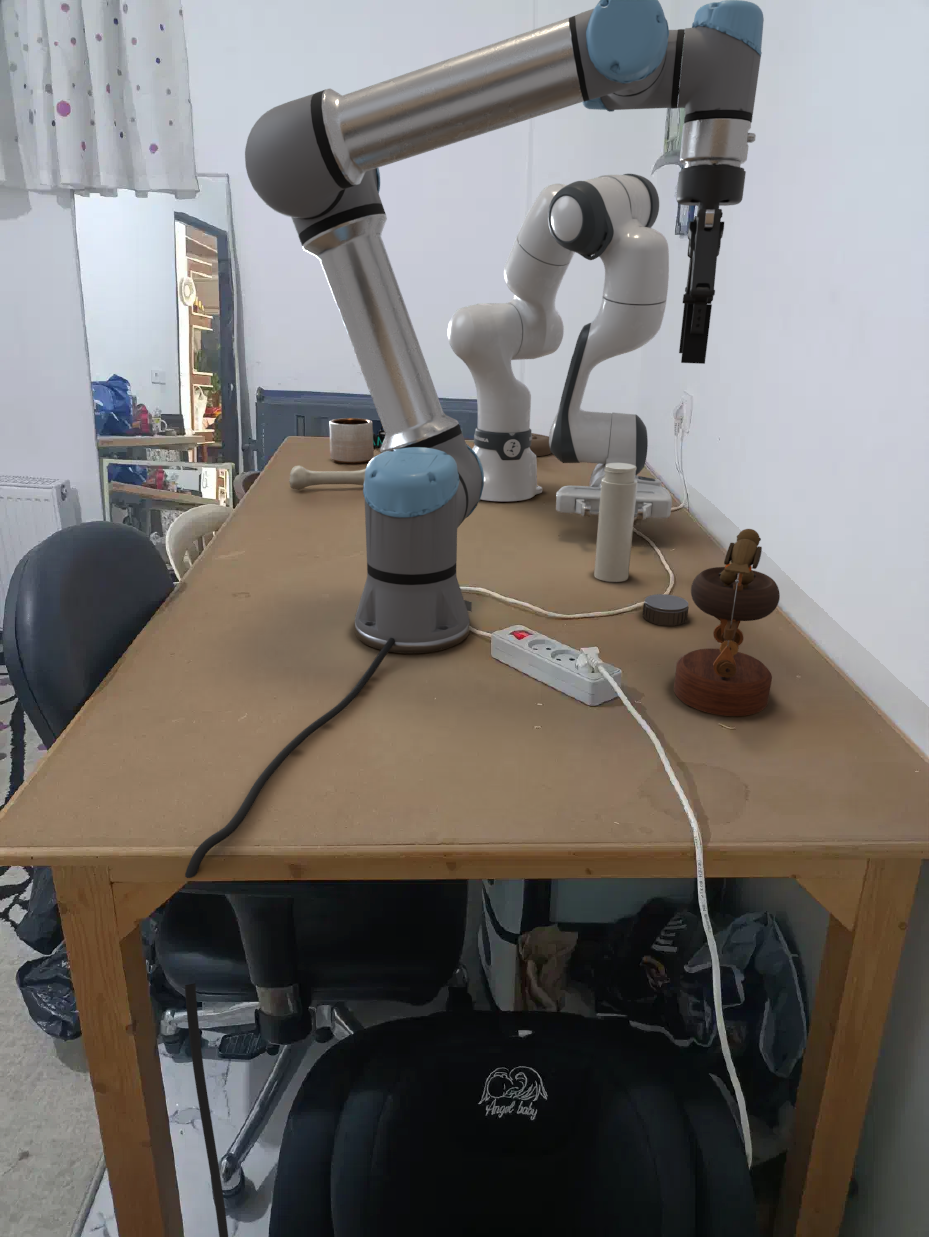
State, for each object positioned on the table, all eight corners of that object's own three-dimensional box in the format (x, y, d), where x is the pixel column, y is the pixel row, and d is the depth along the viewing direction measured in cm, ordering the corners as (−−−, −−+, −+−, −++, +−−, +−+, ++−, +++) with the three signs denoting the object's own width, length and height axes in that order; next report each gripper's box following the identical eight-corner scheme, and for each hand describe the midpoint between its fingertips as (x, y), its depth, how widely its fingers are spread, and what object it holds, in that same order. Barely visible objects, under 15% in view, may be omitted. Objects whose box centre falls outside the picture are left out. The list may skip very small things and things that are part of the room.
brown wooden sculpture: (786, 726, 90) (801, 547, 83) (681, 727, 92) (686, 551, 84) (757, 665, 104) (767, 507, 97) (666, 666, 106) (669, 511, 98)
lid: (676, 608, 122) (678, 592, 121) (694, 625, 117) (696, 608, 116) (636, 610, 121) (637, 595, 120) (652, 627, 116) (654, 610, 115)
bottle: (597, 582, 132) (606, 469, 126) (591, 570, 137) (599, 462, 131) (631, 582, 133) (642, 470, 126) (624, 571, 138) (634, 462, 131)
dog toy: (381, 484, 190) (381, 462, 188) (383, 490, 184) (383, 467, 183) (290, 486, 187) (288, 463, 185) (289, 492, 181) (288, 469, 179)
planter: (327, 456, 217) (325, 418, 214) (369, 454, 220) (368, 417, 217) (334, 465, 208) (332, 425, 204) (377, 463, 211) (376, 424, 207)
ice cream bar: (481, 466, 209) (482, 449, 208) (475, 444, 235) (475, 429, 234) (566, 466, 210) (567, 449, 209) (550, 445, 236) (551, 429, 235)
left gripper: (757, 152, 86) (729, 369, 94) (737, 177, 108) (716, 350, 116) (681, 153, 87) (660, 366, 95) (677, 178, 110) (660, 349, 118)
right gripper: (557, 474, 157) (553, 492, 145) (669, 480, 155) (675, 498, 142) (555, 507, 160) (551, 527, 147) (666, 513, 157) (671, 534, 144)
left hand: (691, 358), depth 106 cm, fingers open, 13 cm apart
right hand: (613, 513), depth 144 cm, fingers open, 8 cm apart
